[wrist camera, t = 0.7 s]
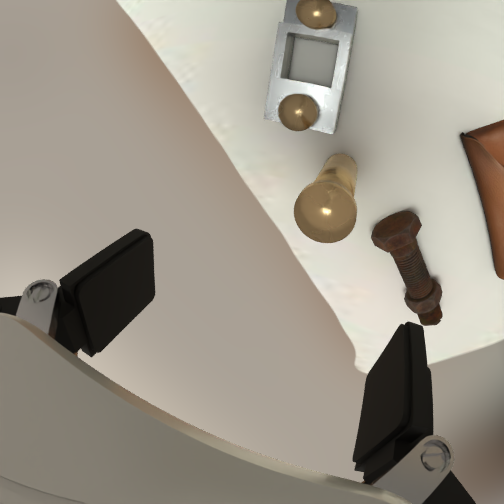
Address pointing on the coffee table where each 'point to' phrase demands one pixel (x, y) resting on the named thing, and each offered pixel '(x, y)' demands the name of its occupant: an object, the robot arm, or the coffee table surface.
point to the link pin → (329, 202)
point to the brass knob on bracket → (300, 93)
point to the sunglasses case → (490, 182)
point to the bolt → (410, 264)
